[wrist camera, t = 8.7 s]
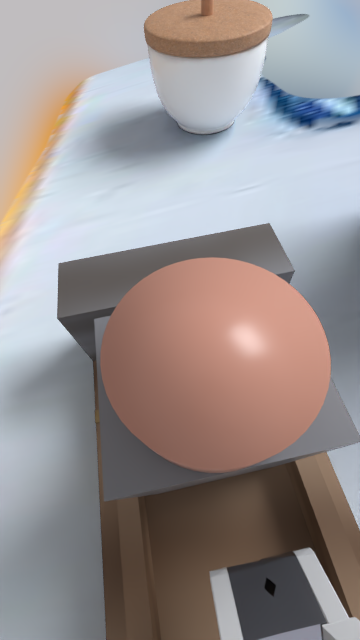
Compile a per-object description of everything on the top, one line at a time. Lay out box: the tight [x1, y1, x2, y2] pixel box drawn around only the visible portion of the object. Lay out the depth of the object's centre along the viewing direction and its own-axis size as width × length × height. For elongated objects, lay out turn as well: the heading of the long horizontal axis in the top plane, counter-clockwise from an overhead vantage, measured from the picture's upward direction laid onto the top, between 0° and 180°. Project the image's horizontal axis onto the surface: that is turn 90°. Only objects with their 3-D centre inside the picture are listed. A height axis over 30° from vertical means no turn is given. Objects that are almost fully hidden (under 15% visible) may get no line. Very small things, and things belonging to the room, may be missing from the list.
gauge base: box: [57, 223, 360, 640], centre depth 10 cm, size 22×10×6 cm, turn 11°
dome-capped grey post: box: [94, 257, 360, 502], centre depth 9 cm, size 4×5×9 cm
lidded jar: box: [144, 0, 272, 134], centre depth 27 cm, size 11×11×9 cm
